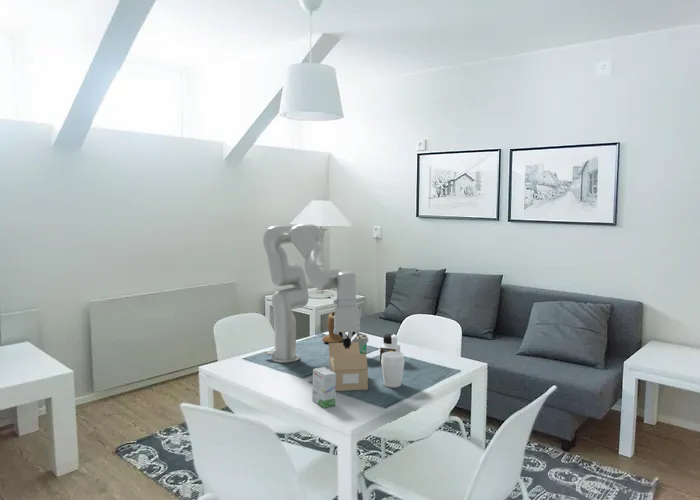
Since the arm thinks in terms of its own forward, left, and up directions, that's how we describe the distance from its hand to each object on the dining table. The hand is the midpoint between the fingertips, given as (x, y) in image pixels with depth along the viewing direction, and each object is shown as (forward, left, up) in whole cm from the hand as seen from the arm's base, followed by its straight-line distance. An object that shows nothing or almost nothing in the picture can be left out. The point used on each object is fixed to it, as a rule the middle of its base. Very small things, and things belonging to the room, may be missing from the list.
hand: (346, 347), depth 216 cm
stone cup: (+2, +55, -13) cm, 57 cm away
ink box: (-11, -25, -13) cm, 30 cm away
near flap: (0, -12, -2) cm, 13 cm away
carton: (0, -5, -13) cm, 13 cm away
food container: (+10, +25, -13) cm, 30 cm away
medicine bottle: (+22, +19, -13) cm, 32 cm away
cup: (+17, -10, -13) cm, 23 cm away
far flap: (0, +7, -2) cm, 7 cm away
